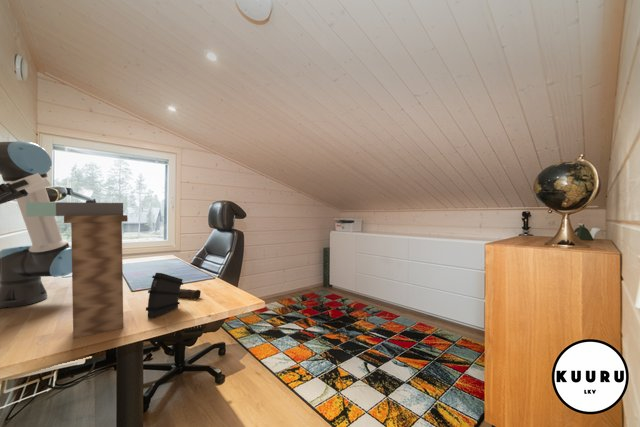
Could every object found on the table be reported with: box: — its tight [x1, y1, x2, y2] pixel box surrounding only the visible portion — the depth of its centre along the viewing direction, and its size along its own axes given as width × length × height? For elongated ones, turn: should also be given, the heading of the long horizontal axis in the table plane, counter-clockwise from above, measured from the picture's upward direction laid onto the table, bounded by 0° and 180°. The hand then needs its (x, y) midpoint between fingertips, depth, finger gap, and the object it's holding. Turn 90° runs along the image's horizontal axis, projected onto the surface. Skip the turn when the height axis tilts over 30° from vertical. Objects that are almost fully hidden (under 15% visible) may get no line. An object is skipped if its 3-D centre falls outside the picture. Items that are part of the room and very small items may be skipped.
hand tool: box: [178, 288, 201, 301], centre depth 119 cm, size 19×4×5 cm, turn 71°
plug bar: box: [26, 201, 124, 217], centre depth 85 cm, size 22×4×4 cm, turn 127°
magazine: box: [145, 272, 184, 319], centre depth 101 cm, size 4×13×15 cm, turn 162°
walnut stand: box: [63, 214, 129, 339], centre depth 88 cm, size 15×10×36 cm, turn 127°
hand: (45, 179), depth 89 cm, fingers open, 13 cm apart
